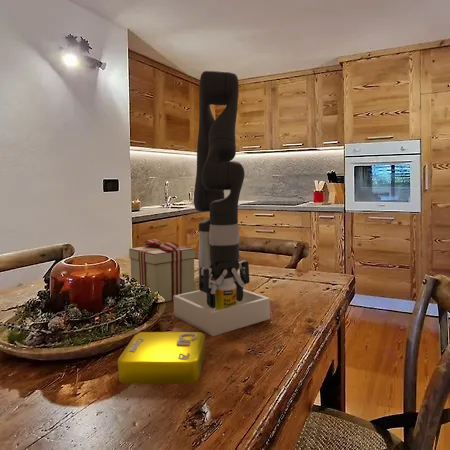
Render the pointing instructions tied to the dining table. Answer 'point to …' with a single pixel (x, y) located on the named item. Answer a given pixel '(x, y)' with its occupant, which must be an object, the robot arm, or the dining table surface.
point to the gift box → (163, 267)
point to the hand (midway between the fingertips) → (225, 303)
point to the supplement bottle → (225, 294)
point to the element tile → (162, 358)
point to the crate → (221, 312)
